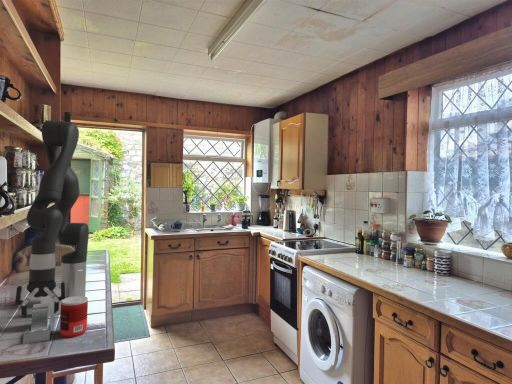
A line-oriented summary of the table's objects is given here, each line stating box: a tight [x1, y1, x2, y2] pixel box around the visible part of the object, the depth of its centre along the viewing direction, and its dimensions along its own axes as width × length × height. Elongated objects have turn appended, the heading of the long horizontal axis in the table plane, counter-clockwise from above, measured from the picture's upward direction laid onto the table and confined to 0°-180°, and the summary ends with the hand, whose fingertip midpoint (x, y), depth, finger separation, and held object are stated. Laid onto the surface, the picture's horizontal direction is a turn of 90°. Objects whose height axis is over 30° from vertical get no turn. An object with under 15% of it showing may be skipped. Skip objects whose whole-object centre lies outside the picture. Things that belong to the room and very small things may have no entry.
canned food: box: [59, 296, 89, 339], centre depth 110 cm, size 8×8×11 cm
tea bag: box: [40, 286, 62, 317], centre depth 126 cm, size 4×7×10 cm, turn 115°
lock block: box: [30, 303, 49, 332], centre depth 115 cm, size 6×5×7 cm
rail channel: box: [22, 325, 52, 345], centre depth 107 cm, size 9×7×3 cm
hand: (40, 314), depth 114 cm, fingers open, 8 cm apart
